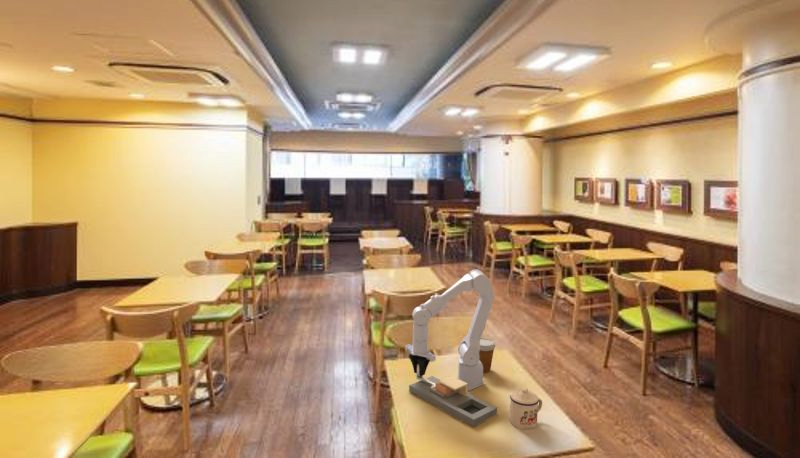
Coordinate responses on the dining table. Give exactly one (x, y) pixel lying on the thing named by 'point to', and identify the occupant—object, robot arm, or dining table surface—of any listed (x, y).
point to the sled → (434, 385)
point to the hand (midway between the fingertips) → (419, 373)
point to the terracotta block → (442, 388)
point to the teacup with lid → (524, 408)
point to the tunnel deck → (456, 400)
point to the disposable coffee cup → (486, 353)
